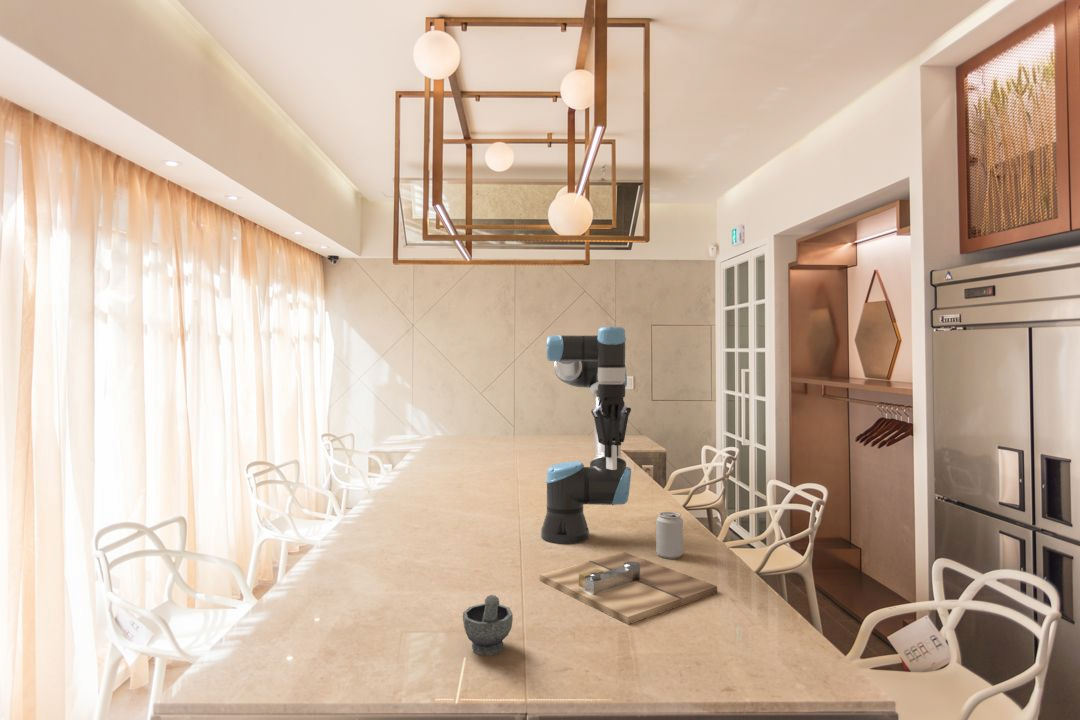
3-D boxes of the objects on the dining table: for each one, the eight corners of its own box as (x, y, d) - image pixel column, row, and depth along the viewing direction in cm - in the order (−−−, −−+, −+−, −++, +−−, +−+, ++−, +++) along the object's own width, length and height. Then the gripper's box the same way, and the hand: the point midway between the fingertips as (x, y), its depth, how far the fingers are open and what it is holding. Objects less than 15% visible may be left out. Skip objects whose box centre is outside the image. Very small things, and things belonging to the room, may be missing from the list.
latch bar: (631, 574, 158) (631, 558, 158) (643, 578, 155) (643, 562, 155) (583, 590, 147) (583, 573, 147) (595, 595, 144) (595, 578, 144)
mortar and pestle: (460, 639, 125) (460, 580, 125) (506, 634, 128) (506, 576, 128) (468, 666, 114) (468, 602, 114) (517, 660, 117) (517, 597, 117)
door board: (539, 580, 158) (539, 562, 158) (624, 557, 176) (624, 541, 176) (627, 624, 132) (627, 603, 132) (717, 592, 150) (717, 573, 150)
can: (683, 560, 174) (683, 517, 174) (656, 558, 175) (656, 516, 175) (682, 552, 181) (682, 511, 181) (656, 550, 183) (656, 510, 182)
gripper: (619, 382, 177) (619, 464, 177) (584, 383, 169) (584, 469, 169) (638, 383, 171) (638, 468, 171) (603, 384, 163) (602, 473, 163)
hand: (611, 468), depth 170 cm, fingers closed
